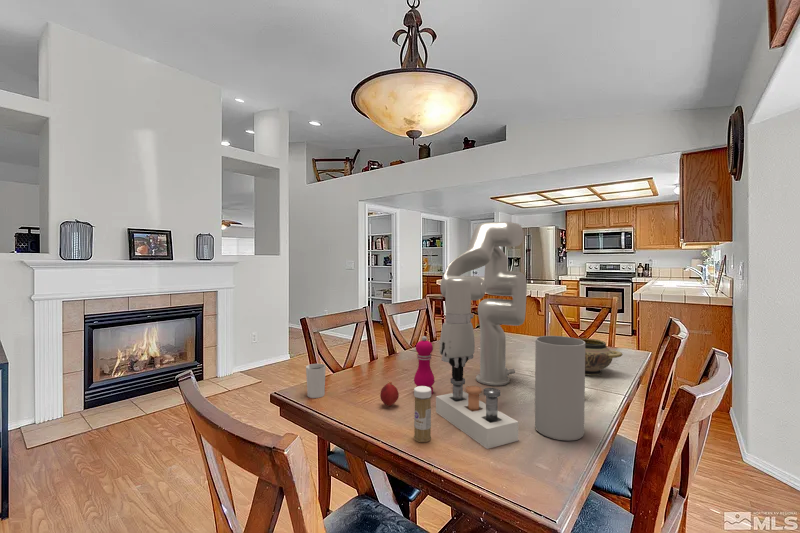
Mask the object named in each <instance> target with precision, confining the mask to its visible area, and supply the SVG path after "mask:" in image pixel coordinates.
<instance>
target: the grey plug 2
mask: <svg viewBox="0 0 800 533" xmlns="http://www.w3.org/2000/svg"><path fill="white" fill-rule="evenodd" d="M482 391H483V392H482V393H483V395H484V397H485V404H486V420H487V421H488V422H490V423H492V422H497V421H498V411H499V409H498V407H499V404H498V402H499V400H498V399H499V397H500V396H501V392H502V391H501V390H500V389H499V388H495V387H484V388H483V389H482Z"/></svg>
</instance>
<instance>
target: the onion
mask: <svg viewBox="0 0 800 533" xmlns="http://www.w3.org/2000/svg"><path fill="white" fill-rule="evenodd" d="M399 395H400V394H399V391H398V389H397V387H396V386H395V385H393V382H392V381H391V380H390V381H388V382H387V384H385V385H383V387H382V388H381V390H380V395H379V396H380V400H381V402H383V404H385V405H387V406H388V407H391V406H393V405H394V404H395V403H396V402H397V401H398V400H399Z"/></svg>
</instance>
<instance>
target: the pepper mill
mask: <svg viewBox="0 0 800 533" xmlns="http://www.w3.org/2000/svg"><path fill="white" fill-rule="evenodd" d="M427 338H428V337H427V336H425V335H423V336H421V340H419V341H418V342H417V343H416V345H415V351H416V353H417V354H416V355H417V356H416V359H418V365H417V366H418V367H417V370H416V372H415V374H414V377H413V383H414V385H415V386H416V387H418V386H427V387H429V388H431V395H433V394H434V387H433V385H434V384H435V382H436V381H435V375H434V373H433V371H432V368H431V359H432V352H433V350H434V347H433V346H434V345H433V344H432V342H430V340H428V339H427Z"/></svg>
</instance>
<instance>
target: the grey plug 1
mask: <svg viewBox="0 0 800 533" xmlns="http://www.w3.org/2000/svg"><path fill="white" fill-rule="evenodd" d="M450 384H451V385H452V393H453V400H454V401H456V402H457V401H462V400H463V391H464V385H465V384H466V379H465V378H464V377H463V380H462V381H456V380H455V379H453V378H452V377H451V378H450Z"/></svg>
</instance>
